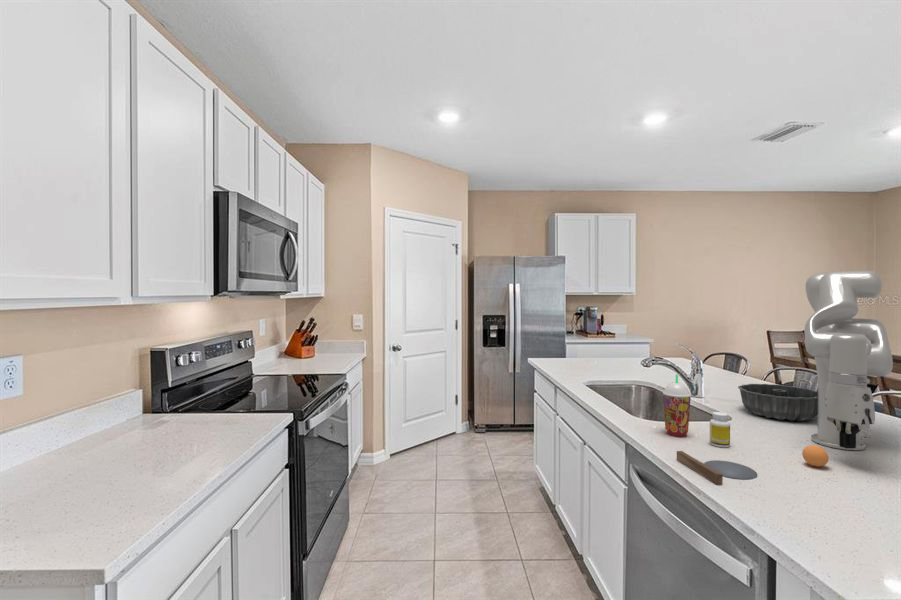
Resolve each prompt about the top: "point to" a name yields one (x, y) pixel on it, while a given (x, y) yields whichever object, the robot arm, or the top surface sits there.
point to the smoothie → (676, 409)
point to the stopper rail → (700, 468)
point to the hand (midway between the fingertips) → (847, 447)
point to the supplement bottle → (720, 430)
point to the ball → (815, 456)
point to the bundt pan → (780, 401)
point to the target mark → (732, 469)
